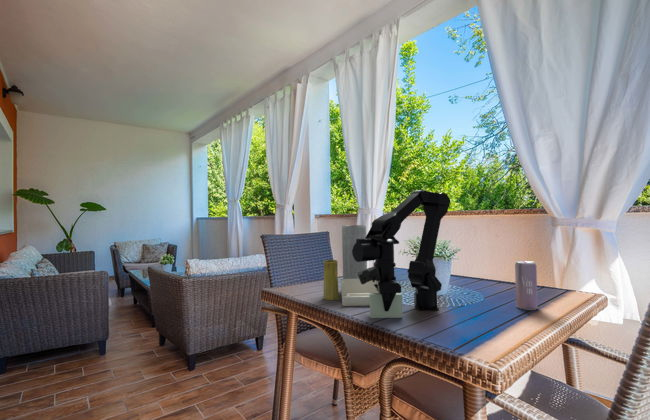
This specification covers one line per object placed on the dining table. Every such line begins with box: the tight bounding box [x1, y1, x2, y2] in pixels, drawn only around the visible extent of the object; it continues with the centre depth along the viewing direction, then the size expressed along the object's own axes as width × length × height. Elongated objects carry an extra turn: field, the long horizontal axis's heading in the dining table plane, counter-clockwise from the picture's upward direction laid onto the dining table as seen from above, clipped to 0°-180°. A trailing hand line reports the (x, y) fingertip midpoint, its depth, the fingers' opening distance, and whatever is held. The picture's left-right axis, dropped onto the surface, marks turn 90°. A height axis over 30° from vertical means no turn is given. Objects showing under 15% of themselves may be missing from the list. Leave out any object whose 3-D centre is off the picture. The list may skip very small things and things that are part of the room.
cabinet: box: [340, 278, 379, 307], centre depth 119 cm, size 16×13×7 cm
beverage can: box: [514, 260, 538, 311], centre depth 106 cm, size 6×6×15 cm
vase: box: [322, 259, 340, 301], centre depth 123 cm, size 6×6×14 cm
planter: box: [341, 224, 368, 279], centre depth 134 cm, size 10×10×27 cm
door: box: [369, 292, 403, 319], centre depth 100 cm, size 10×2×7 cm, turn 89°
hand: (385, 309), depth 100 cm, fingers closed on door, 2 cm apart
